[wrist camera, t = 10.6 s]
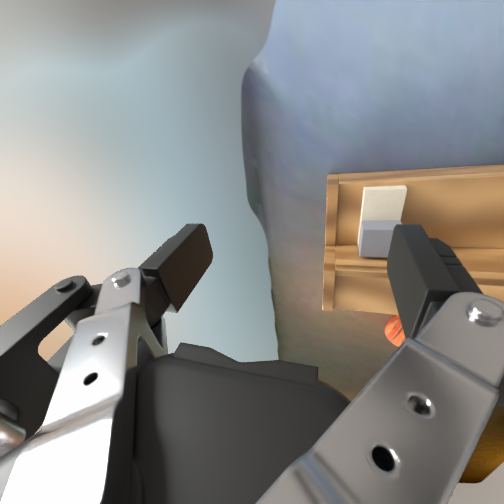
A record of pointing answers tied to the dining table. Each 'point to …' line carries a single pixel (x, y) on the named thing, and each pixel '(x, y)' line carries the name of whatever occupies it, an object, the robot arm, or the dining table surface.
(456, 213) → the stepped wooden ledge
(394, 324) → the pot
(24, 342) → the robot arm
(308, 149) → the dining table surface
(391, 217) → the block chair shape
